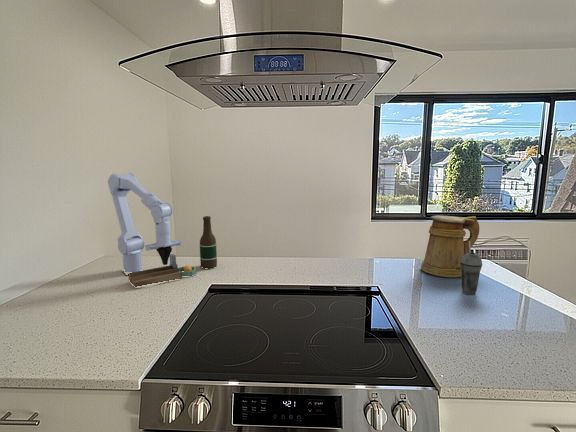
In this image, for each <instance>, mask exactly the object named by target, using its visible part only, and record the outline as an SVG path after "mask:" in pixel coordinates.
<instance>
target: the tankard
mask: <svg viewBox="0 0 576 432" xmlns="http://www.w3.org/2000/svg"><path fill="white" fill-rule="evenodd" d="M429 220H432V224H431V225H430V227H429V230H428V234H429V237H428V242H427V247H426V251H425V256H424V258H423V259H422V260H421V261H422V262H421V265H420V268H421V271H423V272H424V273H427V274H430V275H432V276H437V277H444V278H462V273H461V263H460V262H461V259H462V257H463V256H464V255H465V254H466V253H469V241H470V246H471V248H472V247H473V246H474V245H475V243H476V241H477V240H478V237H479V234H480V225H479V224H480V223H479V221H478V220H477V217H476V216H475V215H474V216H467V217H463V216H454V215H453V216H452V215H451V216H450V215H432V216H430V217H429ZM466 230H468V232H469V237H468V238H467V239H465V238H464V237H466V234H467V233H466ZM464 239H465V240H464Z"/></svg>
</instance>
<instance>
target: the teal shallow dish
mask: <svg viewBox="0 0 576 432" xmlns="http://www.w3.org/2000/svg"><path fill="white" fill-rule="evenodd" d="M185 266H186V265H185ZM185 266H180V267H178V268H179V272H180V274H181V276H192V275H194V274H197V267H195V266H191V265H190V266H191V268H192V271H187V272H182V271H184V267H185ZM194 276H195V275H194ZM192 277H193V276H192Z"/></svg>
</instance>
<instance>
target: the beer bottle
mask: <svg viewBox="0 0 576 432" xmlns="http://www.w3.org/2000/svg"><path fill="white" fill-rule="evenodd" d="M211 217H212V216H210V215H209V216H208V215H205V216H203V217H202V220H203V228H202V229H203V231H202V235H201V237H200V239H199V259H200V268H201V267H203V268H213V269H215V268H214V267H216V268H217V266H218V257H217V256H218V255H217V253H218V252H217V239H216V236H215V235H214V234H213V231H212V223H211V220H212V218H211ZM203 268H202V269H203Z"/></svg>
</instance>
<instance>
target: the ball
mask: <svg viewBox="0 0 576 432" xmlns="http://www.w3.org/2000/svg"><path fill="white" fill-rule="evenodd" d="M183 267H184V266H183ZM187 271H192V268H191V265H189V264H188V265H185V267H184V272H187Z"/></svg>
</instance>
